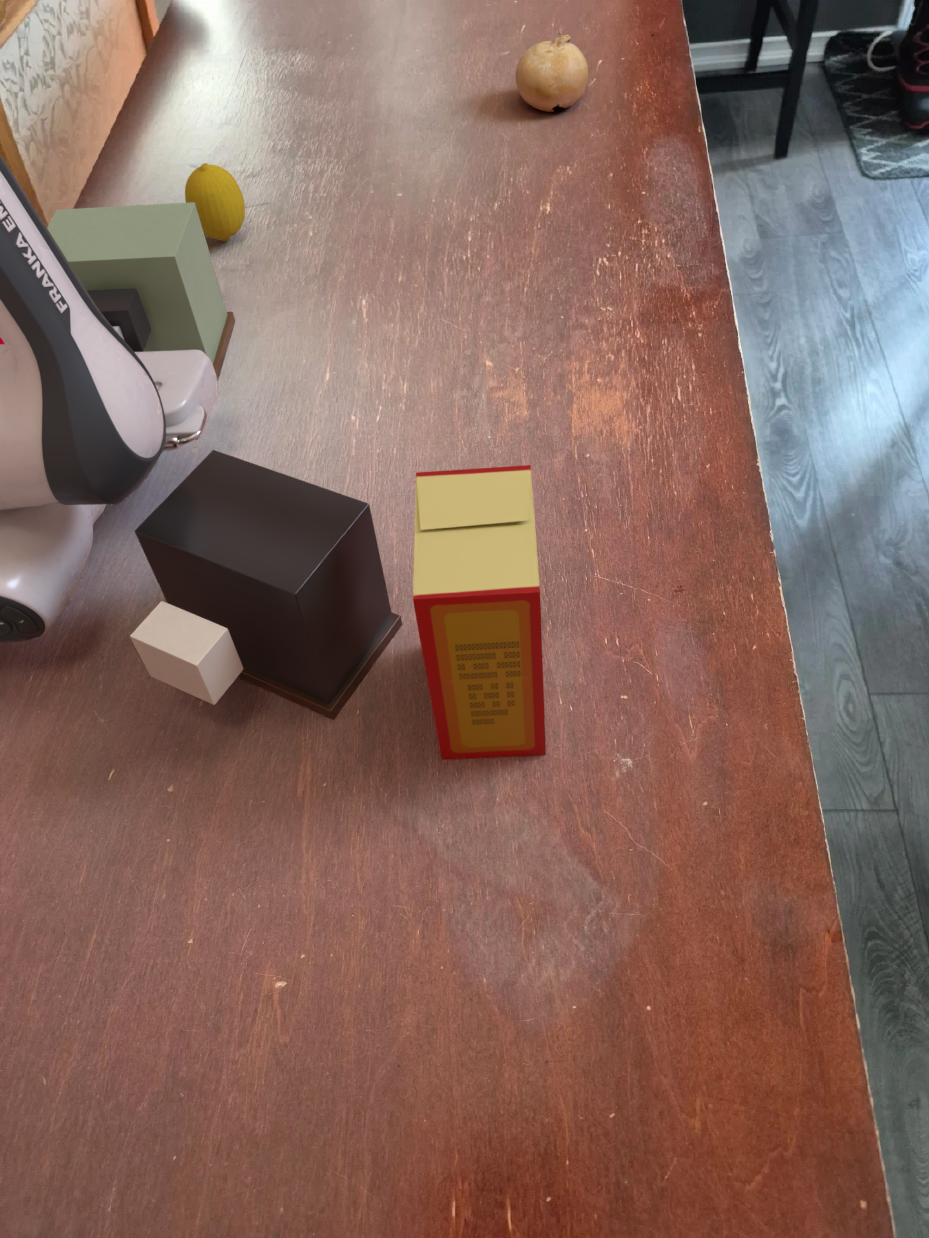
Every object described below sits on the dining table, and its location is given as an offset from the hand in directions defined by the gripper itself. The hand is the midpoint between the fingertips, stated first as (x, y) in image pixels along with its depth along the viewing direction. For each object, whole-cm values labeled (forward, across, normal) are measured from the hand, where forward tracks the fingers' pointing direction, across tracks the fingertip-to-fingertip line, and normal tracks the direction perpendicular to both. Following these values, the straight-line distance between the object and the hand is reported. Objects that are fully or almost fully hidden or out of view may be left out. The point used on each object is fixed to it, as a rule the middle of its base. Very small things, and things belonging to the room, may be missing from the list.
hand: (104, 333), depth 85 cm
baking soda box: (-30, -31, +8) cm, 44 cm away
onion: (+51, -36, +8) cm, 63 cm away
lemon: (+26, -3, +8) cm, 27 cm away
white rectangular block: (-32, -14, +2) cm, 35 cm away
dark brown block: (+1, 0, +2) cm, 3 cm away
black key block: (-25, -17, +8) cm, 31 cm away
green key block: (+8, 0, +8) cm, 11 cm away
